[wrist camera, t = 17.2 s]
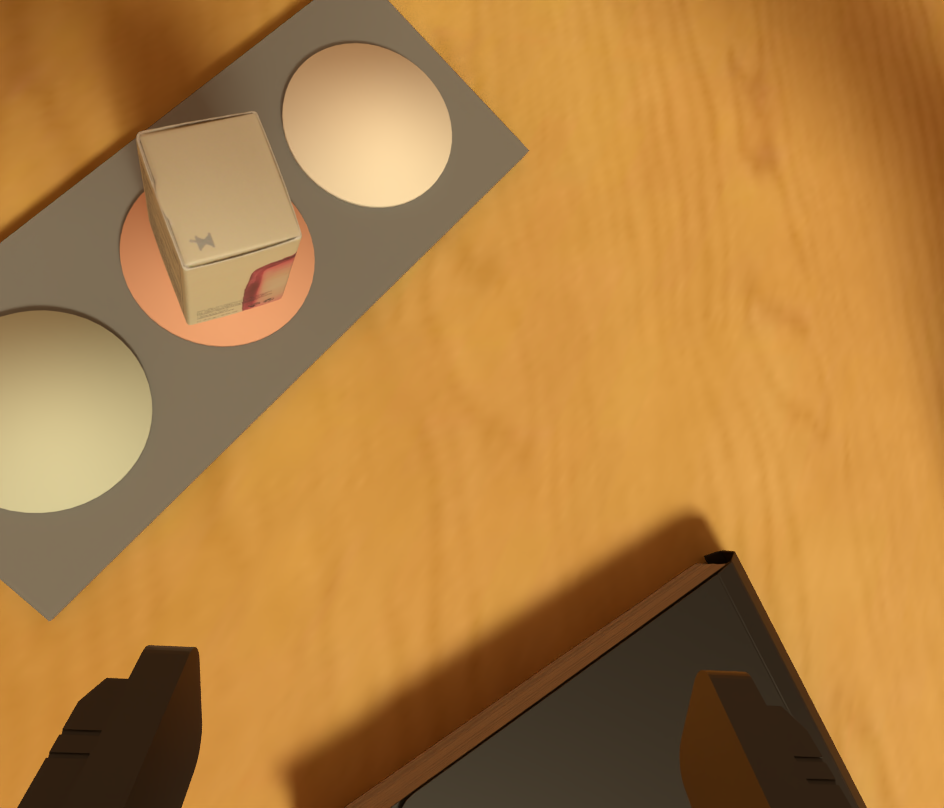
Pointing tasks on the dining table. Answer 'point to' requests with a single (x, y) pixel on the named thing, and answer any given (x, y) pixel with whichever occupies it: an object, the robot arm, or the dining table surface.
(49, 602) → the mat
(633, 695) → the file folder
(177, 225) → the small box
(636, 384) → the dining table surface
